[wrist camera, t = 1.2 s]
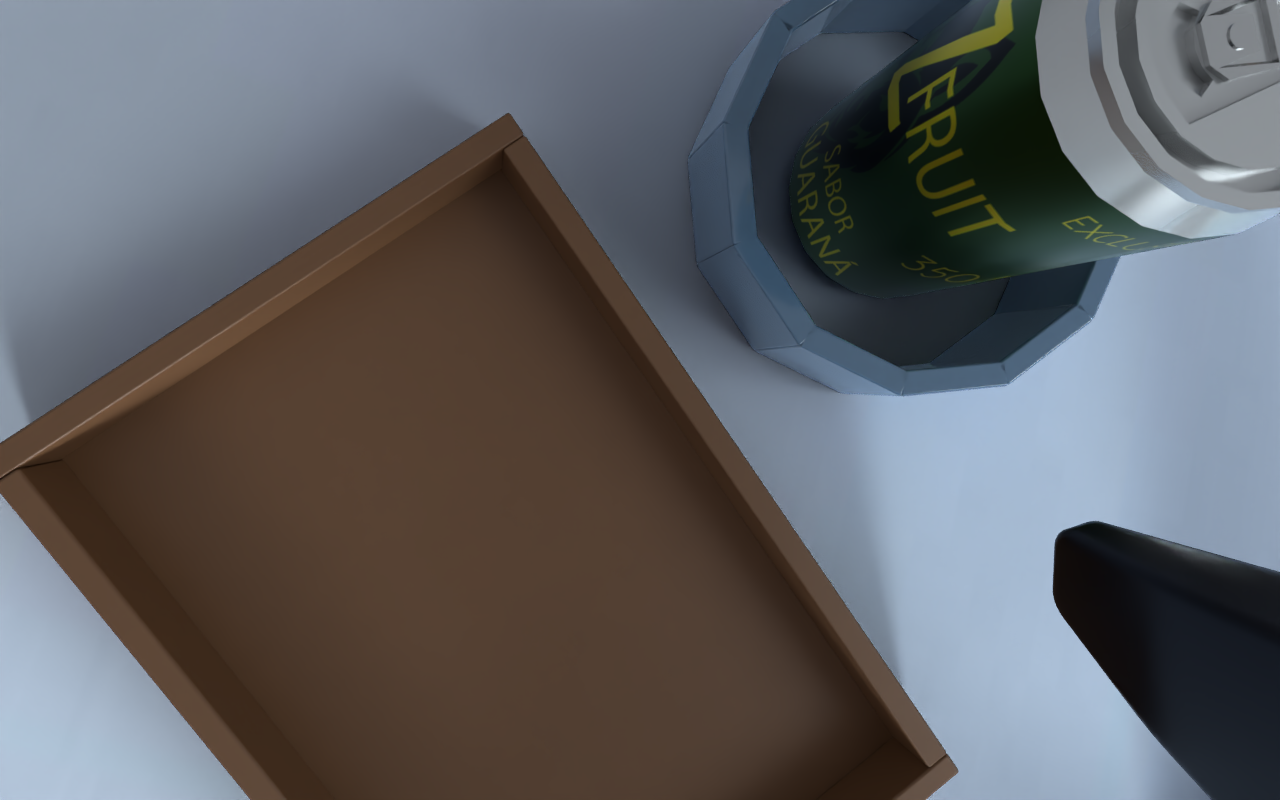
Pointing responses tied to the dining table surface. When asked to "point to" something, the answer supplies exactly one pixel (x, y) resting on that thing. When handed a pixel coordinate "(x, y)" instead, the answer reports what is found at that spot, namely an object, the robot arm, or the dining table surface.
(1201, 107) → the beer can
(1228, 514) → the dining table surface
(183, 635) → the tray
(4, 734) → the dining table surface
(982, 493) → the dining table surface
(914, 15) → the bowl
